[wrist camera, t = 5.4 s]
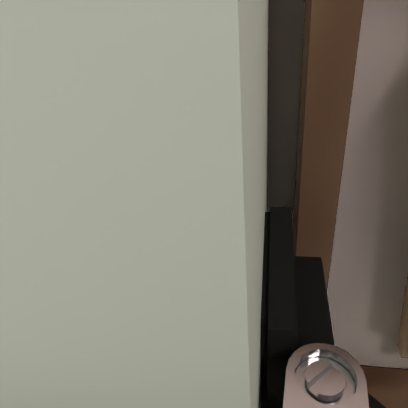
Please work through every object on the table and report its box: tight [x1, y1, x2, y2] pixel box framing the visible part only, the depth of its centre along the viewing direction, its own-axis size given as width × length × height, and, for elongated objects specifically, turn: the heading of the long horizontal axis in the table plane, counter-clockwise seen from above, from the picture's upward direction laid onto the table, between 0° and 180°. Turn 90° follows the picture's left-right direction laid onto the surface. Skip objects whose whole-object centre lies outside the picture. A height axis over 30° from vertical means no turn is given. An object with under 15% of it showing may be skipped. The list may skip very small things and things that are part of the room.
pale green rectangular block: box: [0, 0, 268, 408], centre depth 9 cm, size 3×14×9 cm, turn 5°
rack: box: [293, 0, 408, 408], centre depth 12 cm, size 16×19×2 cm
